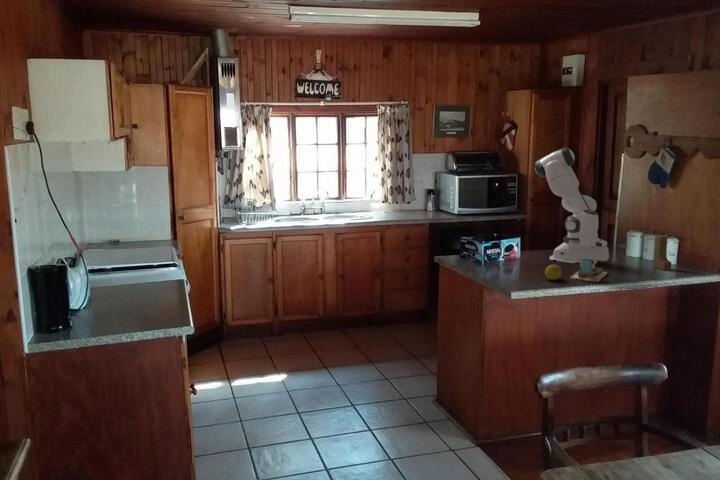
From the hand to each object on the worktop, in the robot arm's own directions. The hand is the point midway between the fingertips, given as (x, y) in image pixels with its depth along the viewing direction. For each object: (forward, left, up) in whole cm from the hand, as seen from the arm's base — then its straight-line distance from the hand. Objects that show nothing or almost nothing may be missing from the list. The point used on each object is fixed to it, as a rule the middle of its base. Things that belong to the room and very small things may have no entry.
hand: (587, 267), depth 327 cm
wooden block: (+30, +41, -6) cm, 51 cm away
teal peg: (0, 0, -4) cm, 4 cm away
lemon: (-14, -11, -6) cm, 19 cm away
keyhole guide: (0, +6, -6) cm, 8 cm away
